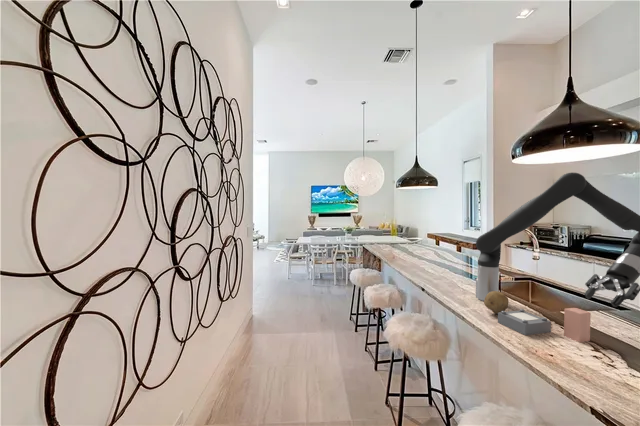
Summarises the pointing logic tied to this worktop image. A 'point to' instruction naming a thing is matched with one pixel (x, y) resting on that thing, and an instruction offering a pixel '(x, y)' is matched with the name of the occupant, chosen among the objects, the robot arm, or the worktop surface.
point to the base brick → (524, 322)
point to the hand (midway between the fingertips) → (599, 301)
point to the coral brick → (577, 324)
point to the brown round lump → (496, 301)
